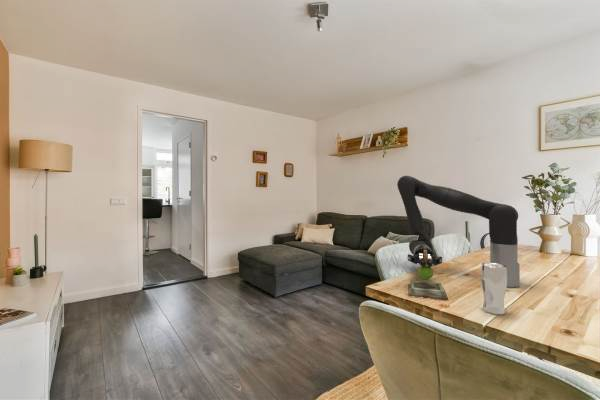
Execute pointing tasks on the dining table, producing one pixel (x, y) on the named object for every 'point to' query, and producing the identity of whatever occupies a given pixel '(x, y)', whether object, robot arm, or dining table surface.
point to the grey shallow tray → (427, 290)
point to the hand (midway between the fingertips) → (426, 264)
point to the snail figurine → (425, 268)
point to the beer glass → (494, 287)
